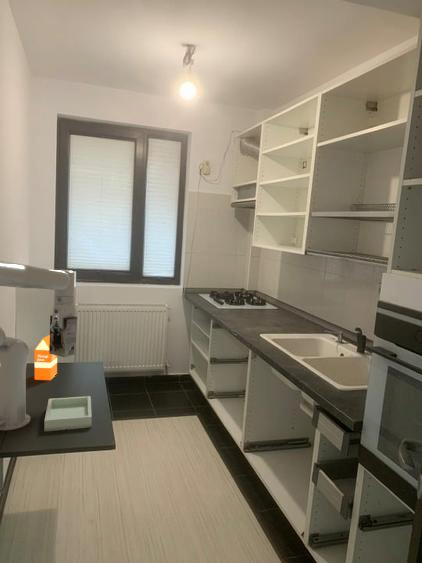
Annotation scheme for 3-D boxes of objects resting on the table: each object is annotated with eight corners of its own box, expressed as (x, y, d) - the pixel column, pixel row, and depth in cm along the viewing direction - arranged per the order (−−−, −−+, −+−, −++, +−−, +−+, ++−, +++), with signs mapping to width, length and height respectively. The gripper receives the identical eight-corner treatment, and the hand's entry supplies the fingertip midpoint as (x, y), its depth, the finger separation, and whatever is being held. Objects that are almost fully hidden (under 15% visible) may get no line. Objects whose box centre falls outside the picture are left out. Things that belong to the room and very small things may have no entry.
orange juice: (57, 374, 203) (57, 334, 201) (50, 380, 194) (50, 339, 192) (41, 373, 203) (41, 334, 201) (34, 379, 194) (34, 338, 192)
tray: (91, 427, 149) (91, 416, 148) (44, 431, 144) (44, 420, 143) (90, 405, 168) (90, 396, 167) (48, 408, 163) (48, 398, 162)
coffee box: (48, 354, 167) (49, 315, 166) (60, 350, 173) (61, 313, 172) (64, 357, 163) (66, 318, 162) (76, 354, 169) (77, 316, 168)
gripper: (58, 303, 157) (57, 348, 158) (84, 298, 174) (82, 339, 175) (42, 301, 159) (40, 346, 160) (68, 297, 176) (67, 337, 177)
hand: (62, 342), depth 168 cm, fingers closed on coffee box, 7 cm apart
